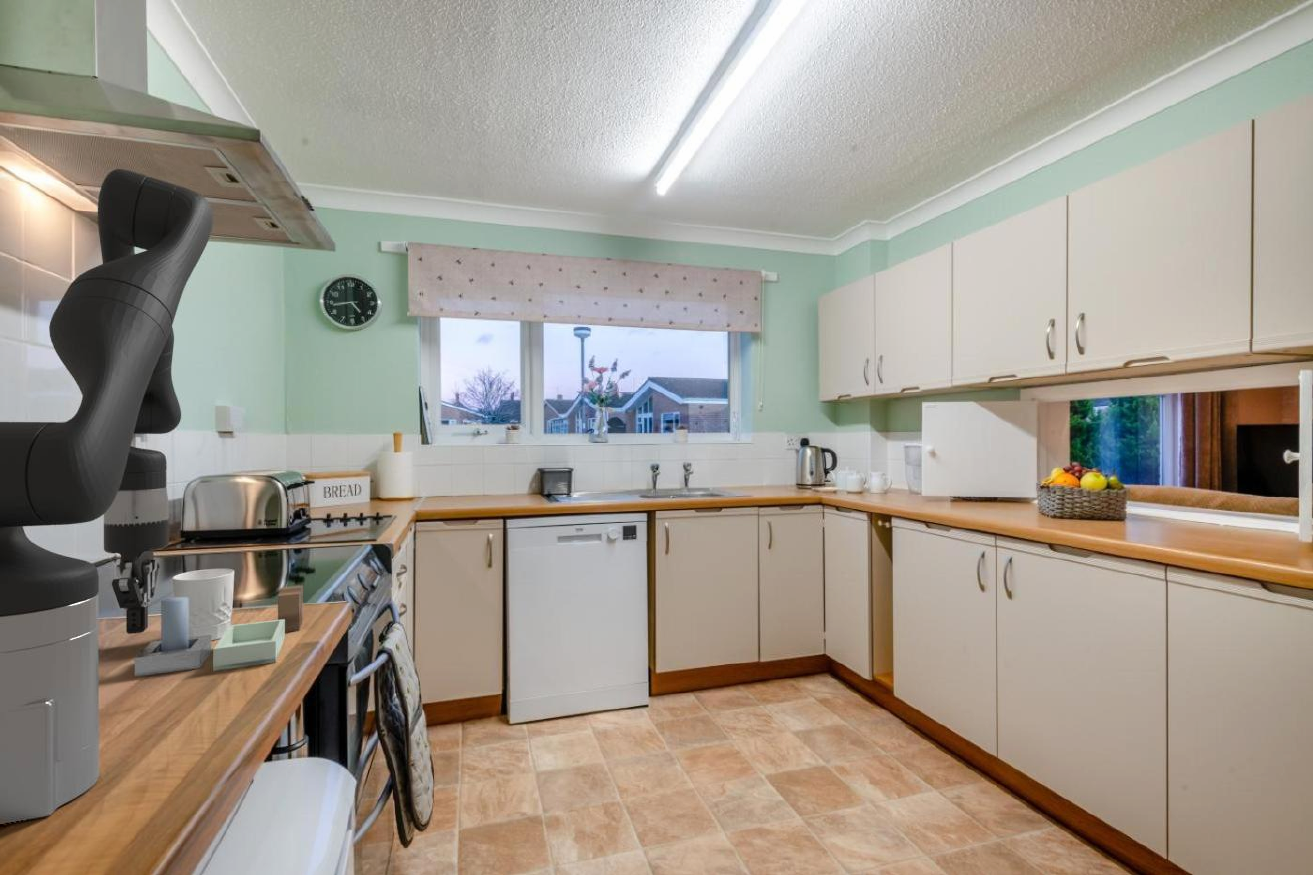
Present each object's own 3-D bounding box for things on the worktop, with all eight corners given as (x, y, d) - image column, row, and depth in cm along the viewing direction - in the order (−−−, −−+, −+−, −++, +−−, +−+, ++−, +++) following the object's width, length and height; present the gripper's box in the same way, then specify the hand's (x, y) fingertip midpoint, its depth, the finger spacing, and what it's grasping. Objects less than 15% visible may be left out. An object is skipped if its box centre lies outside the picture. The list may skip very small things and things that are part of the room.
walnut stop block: (299, 630, 98) (299, 593, 98) (277, 632, 97) (277, 595, 97) (302, 620, 104) (302, 585, 104) (282, 622, 102) (282, 587, 102)
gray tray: (199, 668, 82) (199, 649, 82) (134, 677, 79) (134, 658, 79) (211, 651, 89) (211, 634, 89) (151, 659, 86) (151, 641, 86)
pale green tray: (275, 662, 85) (275, 641, 85) (213, 671, 81) (213, 649, 81) (284, 638, 95) (284, 619, 95) (229, 645, 91) (229, 625, 91)
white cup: (201, 647, 91) (201, 581, 91) (158, 643, 92) (158, 578, 92) (246, 630, 98) (246, 569, 98) (206, 627, 100) (206, 567, 100)
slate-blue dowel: (185, 665, 83) (185, 601, 83) (158, 669, 82) (158, 603, 82) (191, 658, 86) (191, 595, 86) (164, 661, 85) (164, 598, 85)
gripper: (154, 522, 87) (155, 641, 87) (179, 512, 99) (179, 616, 99) (87, 526, 84) (87, 649, 84) (120, 514, 96) (121, 623, 96)
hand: (137, 631), depth 92 cm, fingers closed
